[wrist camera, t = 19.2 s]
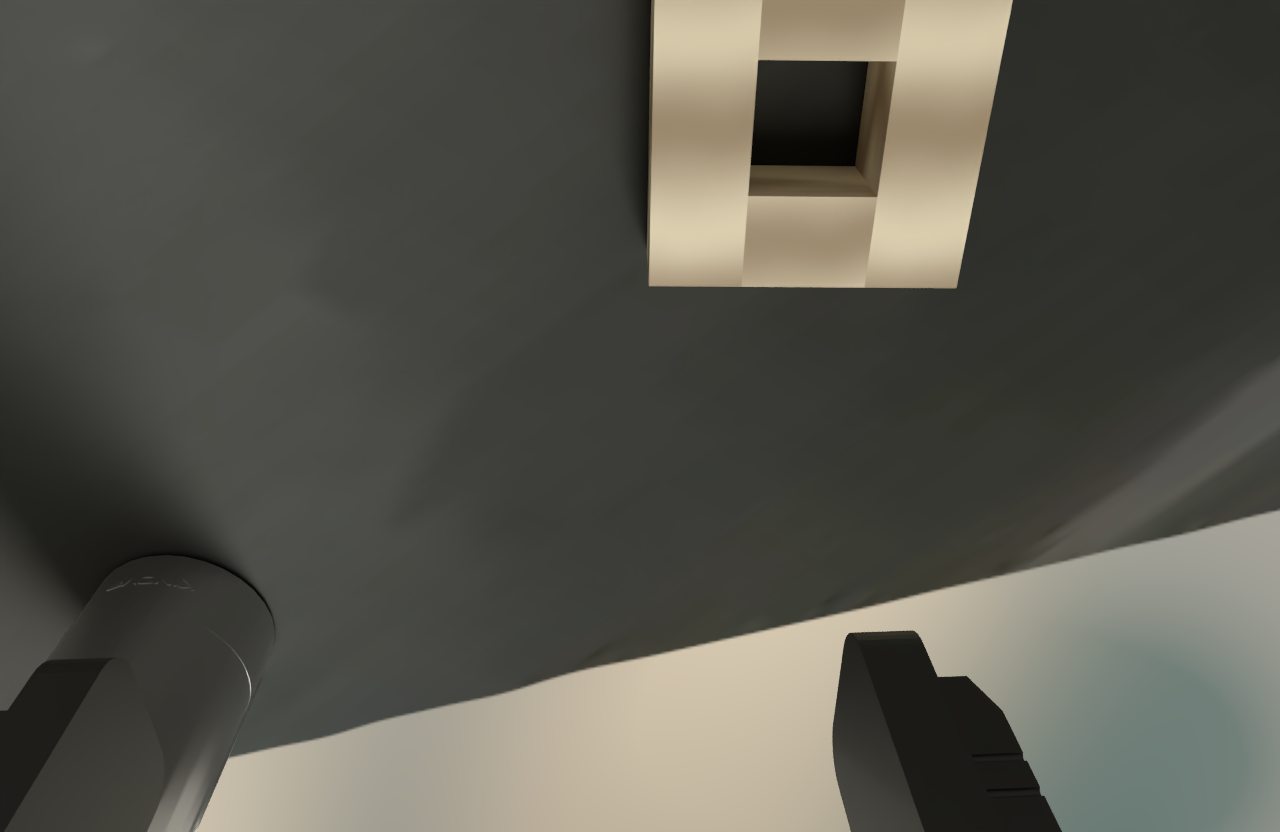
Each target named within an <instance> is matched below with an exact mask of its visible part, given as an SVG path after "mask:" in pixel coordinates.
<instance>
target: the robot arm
mask: <svg viewBox="0 0 1280 832" xmlns="http://www.w3.org/2000/svg"><path fill="white" fill-rule="evenodd" d="M274 640H275V628H274V624H273V620H272V616H271V614H270V612H269V611H268V609H267V607H266V605H265V603H264V602H263V601H262V599H261V598H260V597H259V596H258V595H257V593H256V592H255V591H254V590H253V589H252V588H251V587H249V586H248V585H247V584H246V583H245V582H243V581H242V580H241V579H240V578H238V577H236V576H235V575H233V574H231V573H230V572H228V571H226V570H225V569H223V568H220V567H218V566H215V565H213V564H210V563H208V562H205V561H201V560H197V559H193V558H189V557H183V556H171V555H160V556H148V557H143V558H140V559H136V560H133V561H129V562H127V563H126V564H124V565H122V566H120V567H118V568H116V569H115V570H114V571H113V572H112V573H110V574H109V575H108V576H107V577H106V578H105V579H104V581H103V582H102V583H101V585H100V586H99V588H98V589H97V590H96V592H95V593H94V595H93V596H92V597H91V599H90V600H89V602H88V603H87V605H86V606H85V607H84V609H83V610H82V612H81V613H80V614H79V616H78V617H77V619H76V620H75V622H74V623H73V624H72V626H71V627H70V629H69V630H68V631H67V632H66V634H65V635H64V637H63V638H62V639H61V641H60V642H59V644H58V645H57V646H56V648H55V649H54V651H53V652H52V653H51V655H50V656H49V658H48V659H47V661H46V662H44V663H43V664H41V665H40V666H39V667H38V668H37V669H36V670H35V672H34V673H33V674H32V676H31V677H30V679H29V680H28V682H27V683H26V685H25V686H24V687H23V689H22V690H21V692H20V693H19V695H18V696H17V698H16V699H15V701H14V702H13V703H12V705H11V706H10V708H9V709H8V710H7V711H0V832H194V831H195V830H196V829H197V828H198V826H199V824H200V822H201V819H202V817H203V815H204V812H205V810H206V808H207V806H208V803H209V801H210V799H211V797H212V794H213V792H214V789H215V787H216V785H217V783H218V780H219V778H220V776H221V773H222V771H223V769H224V766H225V764H226V762H227V760H228V757H229V755H230V753H231V750H232V748H233V746H234V743H235V741H236V739H237V737H238V734H239V732H240V730H241V727H242V725H243V723H244V720H245V718H246V716H247V713H248V711H249V709H250V706H251V704H252V702H253V700H254V697H255V695H256V693H257V690H258V688H259V686H260V677H261V675H262V673H263V670H264V668H265V666H266V663H267V661H268V659H269V656H270V654H271V651H272V649H273V646H274ZM833 757H834V765H835V772H836V777H837V781H838V785H839V789H840V793H841V796H842V800H843V804H844V808H845V811H846V815H847V818H848V822H849V826H850V830H851V832H1062V831H1061V829H1060V827H1059V825H1058V823H1057V821H1056V819H1055V817H1054V815H1053V813H1052V811H1051V809H1050V807H1049V805H1048V803H1047V800H1046V798H1045V796H1041V794H1040V786H1039V784H1038V782H1037V780H1036V778H1035V776H1034V774H1033V772H1032V770H1031V768H1030V766H1029V764H1028V762H1027V761H1024V759H1023V752H1022V750H1021V748H1020V745H1019V744H1018V741H1017V739H1016V737H1015V735H1014V733H1013V731H1012V729H1011V727H1010V725H1009V723H1008V721H1007V719H1006V717H1005V715H1004V713H1003V711H1002V710H1001V709H1000V708H999V707H998V706H997V705H996V704H995V703H994V702H993V701H992V700H991V699H990V698H989V697H988V696H986V694H985V693H984V692H983V691H981V690H980V689H979V688H978V687H977V686H976V685H975V684H974V683H973V682H972V681H971V680H970V679H969V678H968V677H967V676H956V677H937V674H936V672H935V670H934V667H933V665H932V663H931V660H930V658H929V656H928V653H927V651H926V649H925V647H924V644H923V642H922V640H921V638H920V637H919V635H918V634H917V633H916V632H915V631H890V632H861V633H849V634H848V635H847V637H846V639H845V643H844V649H843V656H842V663H841V670H840V678H839V685H838V692H837V700H836V707H835V715H834V722H833Z"/></svg>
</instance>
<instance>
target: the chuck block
mask: <svg viewBox="0 0 1280 832" xmlns="http://www.w3.org/2000/svg"><path fill="white" fill-rule="evenodd" d="M1012 1H1013V0H651V46H650V101H649V156H648V211H647V261H648V278H649V286H724V287H868V288H956V287H957V282H958V277H959V272H960V267H961V261H962V256H963V251H964V246H965V241H966V236H967V231H968V226H969V221H970V216H971V210H972V205H973V200H974V195H975V190H976V185H977V180H978V175H979V170H980V165H981V159H982V154H983V149H984V144H985V139H986V134H987V129H988V124H989V119H990V113H991V108H992V103H993V98H994V93H995V88H996V83H997V78H998V73H999V68H1000V62H1001V57H1002V52H1003V47H1004V42H1005V37H1006V32H1007V27H1008V22H1009V17H1010V11H1011V6H1012ZM758 60H813V61H869V62H868V70H867V77H866V85H865V93H864V101H863V108H862V116H861V124H860V132H859V140H858V147H857V155H856V163H855V166H775V165H750V164H751V150H752V136H753V122H754V109H755V95H756V81H757V68H758Z"/></svg>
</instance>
